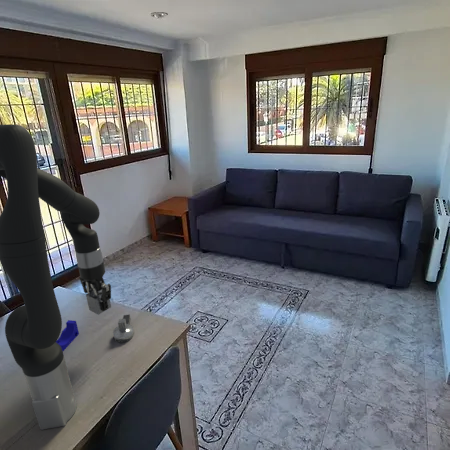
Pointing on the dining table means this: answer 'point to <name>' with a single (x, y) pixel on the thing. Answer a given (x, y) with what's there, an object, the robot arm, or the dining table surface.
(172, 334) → the dining table surface
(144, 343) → the dining table surface
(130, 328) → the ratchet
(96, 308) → the grey paneled cube
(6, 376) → the dining table surface
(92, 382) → the dining table surface
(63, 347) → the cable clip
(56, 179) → the robot arm
